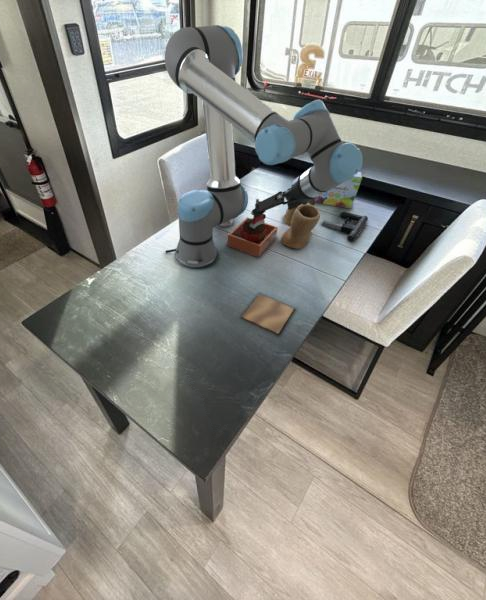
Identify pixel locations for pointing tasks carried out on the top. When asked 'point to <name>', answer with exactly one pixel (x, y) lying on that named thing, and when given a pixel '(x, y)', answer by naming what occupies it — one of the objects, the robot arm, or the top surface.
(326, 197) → the snack box
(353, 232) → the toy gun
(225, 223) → the mug
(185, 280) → the top surface
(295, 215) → the tan boot
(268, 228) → the orange square tray
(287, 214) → the brown watering can
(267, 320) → the cork mat
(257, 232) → the cake
